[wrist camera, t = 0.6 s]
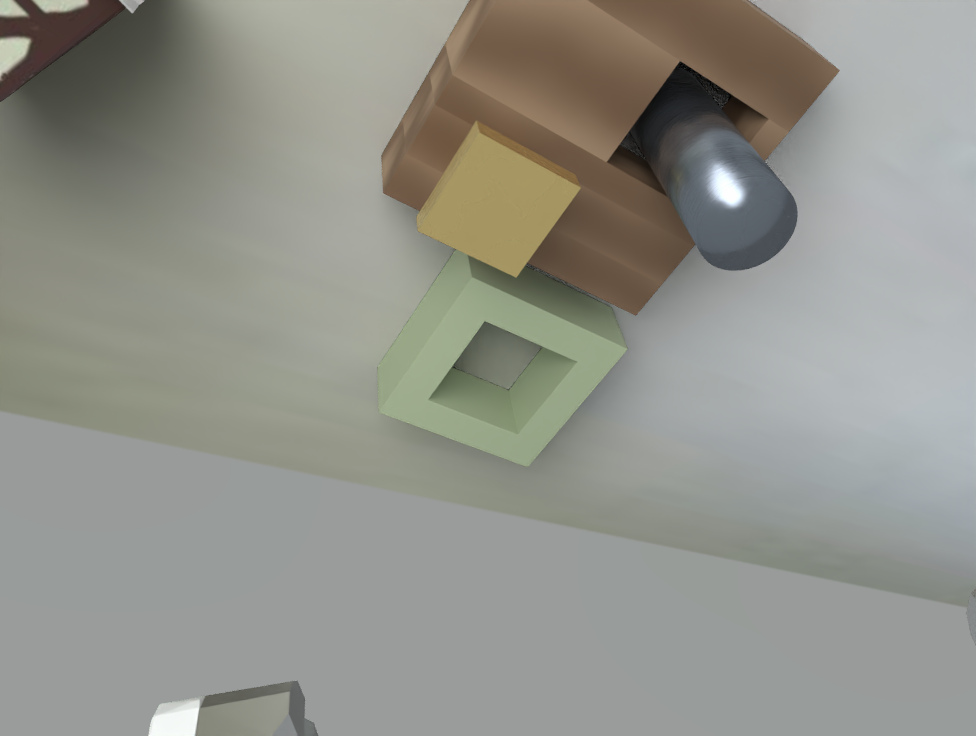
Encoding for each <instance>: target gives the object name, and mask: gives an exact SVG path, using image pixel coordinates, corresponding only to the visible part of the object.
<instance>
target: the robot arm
mask: <svg viewBox="0 0 976 736" xmlns="http://www.w3.org/2000/svg"><path fill="white" fill-rule="evenodd" d="M967 618H968V623H969V628H970V632H971V636H972V638H973V640H974V642H975V645H976V589H975V590H974V591H973V592H972V593H971V595H970V599H969V604H968V608H967ZM304 716H305V698H304V695H303V693H302V691H301V688H300V686H299V683H298V681H292V682H285V683H280V684H274V685H268V686H262V687H256V688H250V689H244V690H238V691H232V692H226V693H220V694H214V695H208V696H202V697H197V698H192V699H186V700H181V701H175V702H170V703H165V704H160V705H159V707H158V709H157V711H156V712H155V714H154V716H153V718H152V720H151V725H150V730H149V735H148V736H318V733H317V731H316V728H315V725H314V723H313V722H311V721H309V720H307V719H305V718H304Z"/></svg>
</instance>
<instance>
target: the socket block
mask: <svg viewBox="0 0 976 736" xmlns="http://www.w3.org/2000/svg"><path fill="white" fill-rule="evenodd" d="M680 61H681V62H683V63H684V64H686V65H687V66H689V67H690V68H692V69H693V70H695V71H696V72H698V73H699V74H701V75H702V76H704V77H706V78H707V79H709V80H710V81H712V82H713V83H715V84H716V85H718V86H719V87H721V88H722V89H724V90H725V91H727V92H728V93H730V94H731V95H732V96H731V98H730V99H729V100H728V102H727V103H726V104H725V105H724V107H723V108H722V110H723V111H724V113H725V114H726V115H727V116H728V118H729V119H730V120H731V121H732V122H733V124H734V125H735V126H736V127H737V128H738V130H739V131H740V132H741V133H742V135H743V136H744V137H745V138H746V139H747V141H748V142H749V143H750V144H751V146H752V147H753V148H754V149H755V150H756V152H757V153H758V154H759V155H760V157H761V158H762V159H763V160H764V161H765V160H766V159H767V157H768V156H769V155H770V154H771V153H772V151H773V150H774V149H775V148H776V147H777V145H778V144H779V143H780V142H781V141H782V139H783V138H784V137H785V136H786V135H787V133H788V132H789V131H790V130H791V129H792V127H793V126H794V125H795V124H796V123H797V121H798V120H799V119H800V118H801V117H802V115H803V114H804V113H805V112H806V111H807V109H808V108H809V107H810V106H811V105H812V103H813V102H814V101H815V100H816V99H817V97H818V96H819V95H820V94H821V93H822V91H823V90H824V89H825V88H826V87H827V85H828V84H829V83H830V82H831V81H832V79H833V78H834V77H835V76H836V75H837V73H838V72H839V71H840V70H839V69H837V68H836V67H835V66H834V65H833V64H831V63H830V62H829V61H828V60H827V59H825V58H824V57H823V56H822V55H821V54H819V53H818V52H817V51H816V50H815V49H814V48H812V47H811V46H810V45H809V44H808V43H806V42H805V41H804V40H803V39H801V38H800V37H798V36H797V35H796V34H794V33H793V32H791V31H790V30H789V29H787V28H786V27H785V26H783V25H782V24H780V23H779V22H778V21H776V20H775V19H774V18H772V17H771V16H769V15H768V14H767V13H765V12H764V11H762V10H761V9H760V8H758V7H757V6H756V5H754V4H753V3H751V2H750V1H749V0H470V1H469V3H468V4H467V6H466V8H465V10H464V11H463V13H462V15H461V17H460V18H459V20H458V22H457V24H456V25H455V27H454V29H453V31H452V32H451V34H450V36H449V38H448V39H447V41H446V43H445V45H444V46H443V48H442V50H441V52H440V53H439V55H438V57H437V59H436V60H435V62H434V64H433V66H432V68H431V69H430V71H429V73H428V75H427V76H426V78H425V80H424V82H423V83H422V85H421V87H420V89H419V90H418V92H417V94H416V96H415V97H414V99H413V101H412V103H411V104H410V106H409V108H408V110H407V111H406V113H405V115H404V117H403V118H402V120H401V122H400V124H399V125H398V127H397V129H396V131H395V132H394V134H393V136H392V138H391V139H390V141H389V143H388V145H387V146H386V148H385V150H384V152H383V154H382V155H381V157H382V177H383V193H384V194H386V195H388V196H390V197H392V198H394V199H396V200H398V201H400V202H402V203H405V204H407V205H409V206H411V207H413V208H415V209H417V210H419V211H420V210H421V209H422V207H423V206H424V204H425V202H426V201H427V199H428V198H429V196H430V194H431V193H432V191H433V189H434V188H435V186H436V185H437V183H438V181H439V180H440V178H441V177H442V175H443V173H444V172H445V170H446V169H447V167H448V165H449V164H450V162H451V160H452V159H453V157H454V156H455V154H456V152H457V151H458V149H459V148H460V146H461V144H462V143H463V141H464V139H465V138H466V136H467V135H468V133H469V131H470V130H471V128H472V127H473V125H474V123H475V122H476V120H477V121H478V122H480V123H482V124H484V125H486V126H487V127H489V128H491V129H493V130H495V131H497V132H498V133H500V134H502V135H504V136H506V137H508V138H509V139H511V140H513V141H515V142H517V143H518V144H520V145H522V146H524V147H526V148H528V149H529V150H531V151H533V152H535V153H537V154H538V155H540V156H542V157H544V158H546V159H548V160H549V161H551V162H553V163H555V164H557V165H559V166H560V167H562V168H564V169H566V170H568V171H569V172H571V173H573V174H575V175H576V177H577V179H578V182H579V184H580V187H581V189H580V190H579V191H578V193H577V194H576V196H575V197H574V198H573V200H572V201H571V202H570V204H569V205H568V207H567V208H566V209H565V211H564V212H563V214H562V215H561V216H560V218H559V219H558V220H557V222H556V223H555V225H554V226H553V227H552V229H551V230H550V232H549V233H548V234H547V236H546V237H545V239H544V240H543V241H542V243H541V244H540V245H539V247H538V248H537V250H536V251H535V252H534V254H533V255H532V257H531V258H530V259H529V261H528V262H527V263H528V264H531V265H533V266H535V267H537V268H539V269H541V270H543V271H545V272H547V273H549V274H551V275H553V276H555V277H557V278H559V279H562V280H564V281H566V282H568V283H570V284H572V285H574V286H576V287H578V288H580V289H582V290H584V291H586V292H588V293H590V294H593V295H595V296H597V297H599V298H601V299H603V300H605V301H607V302H609V303H611V304H613V305H615V306H617V307H619V308H621V309H624V310H626V311H628V312H630V313H632V314H634V315H637V314H638V312H639V311H640V310H641V309H642V308H643V306H644V305H645V304H646V303H647V302H648V300H649V299H650V298H651V297H652V296H653V294H654V293H655V292H656V291H657V290H658V288H659V287H660V286H661V285H662V284H663V282H664V281H665V280H666V279H667V278H668V276H669V275H670V274H671V273H672V272H673V270H674V269H675V268H676V267H677V266H678V264H679V263H680V262H681V261H682V260H683V258H684V257H685V256H686V255H687V254H688V252H689V251H690V250H691V249H692V248H693V246H694V245H695V242H694V241H693V239H692V237H691V236H690V234H689V232H688V230H687V229H686V227H685V225H684V224H683V222H682V220H681V218H680V217H679V215H678V213H677V212H676V210H675V208H674V206H673V205H672V203H671V201H670V200H669V198H668V196H667V194H666V193H665V191H664V189H663V188H662V186H661V184H660V182H659V181H658V179H657V177H656V176H655V174H654V172H653V170H652V169H651V167H650V165H649V164H648V162H647V160H645V159H643V158H641V157H640V156H638V155H636V154H635V153H633V152H631V151H629V150H628V149H626V148H624V147H622V146H621V145H619V144H620V143H621V142H622V140H623V139H624V137H625V136H626V135H627V133H628V132H629V131H630V129H631V128H632V126H633V125H634V124H635V122H636V121H637V120H638V118H639V117H640V115H641V114H642V113H643V111H644V110H645V109H646V107H647V106H648V104H649V103H650V102H651V100H652V99H653V98H654V96H655V95H656V93H657V92H658V91H659V89H660V88H661V86H662V85H663V84H664V82H665V81H666V80H667V78H668V77H669V75H670V74H671V73H672V71H673V70H674V69H675V67H676V66H677V64H678V63H679V62H680Z"/></svg>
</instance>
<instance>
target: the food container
mask: <svg viewBox="0 0 976 736" xmlns="http://www.w3.org/2000/svg"><path fill="white" fill-rule="evenodd" d="M144 1H145V0H0V102H1V101H3V100H4V99H5V98H7V97H8V96H10V95H11V94H12V93H14V92H15V91H16V90H17V89H19V88H20V87H21V86H23V85H24V84H25V83H26V82H28V81H29V80H30V79H32V78H33V77H34V76H36V75H37V74H38V73H39V72H41V71H42V70H43V69H45V68H46V67H48V66H49V65H50V64H52V63H53V62H54V61H56V60H57V59H58V58H60V57H61V56H63V55H64V54H65V53H67V52H68V51H69V50H71V49H72V48H73V47H75V46H76V45H77V44H79V43H80V42H81V41H83V40H84V39H85V38H87V37H88V36H90V35H91V34H92V33H94V32H95V31H96V30H98V29H99V28H100V27H102V26H103V25H104V24H106V23H107V22H108V21H109V20H111V19H112V18H113V17H115V16H116V15H117V14H119V13H120V12H121V11H122V10H124V9H125V8H127V9H128V10H129V11H130V12H131V13H133V12H134V11H135V10H136V8H137V7H138V6H139V5H140V4H141V3H143V2H144Z"/></svg>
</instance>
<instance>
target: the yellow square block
mask: <svg viewBox="0 0 976 736" xmlns="http://www.w3.org/2000/svg"><path fill="white" fill-rule="evenodd" d="M580 189H581V187H580V184H579V182H578V179H577V177H576V175H575V174H573V173H571V172H569V171H568V170H566V169H564V168H562V167H560V166H559V165H557V164H555V163H553V162H551V161H549V160H548V159H546V158H544V157H542V156H540V155H538V154H537V153H535V152H533V151H531V150H529V149H528V148H526V147H524V146H522V145H520V144H518V143H517V142H515V141H513V140H511V139H509V138H508V137H506V136H504V135H502V134H500V133H498V132H497V131H495V130H493V129H491V128H489V127H487V126H486V125H484V124H482V123H480V122H478V121H477V120H476V122H475V123H474V125H473V127H472V128H471V130H470V131H469V133H468V135H467V136H466V138H465V139H464V141H463V143H462V144H461V146H460V148H459V149H458V151H457V152H456V154H455V156H454V157H453V159H452V160H451V162H450V164H449V165H448V167H447V169H446V170H445V172H444V173H443V175H442V177H441V178H440V180H439V181H438V183H437V185H436V186H435V188H434V189H433V191H432V193H431V194H430V196H429V198H428V199H427V201H426V202H425V204H424V206H423V207H422V209H421V210H420V212H419V214H418V215H417V217H416V219H417V228H418V231H419V232H421V233H423V234H425V235H427V236H429V237H431V238H433V239H435V240H438V241H440V242H442V243H444V244H446V245H448V246H450V247H452V248H455V249H457V250H459V251H461V252H463V253H465V254H467V255H469V256H471V257H474V258H476V259H478V260H480V261H482V262H484V263H486V264H488V265H490V266H493V267H495V268H497V269H499V270H501V271H503V272H505V273H507V274H510V275H512V276H514V277H517V276H518V275H519V273H520V272H521V270H522V269H523V268H524V266H525V265H526V263H527V262H528V261H529V259H530V258H531V257H532V255H533V254H534V252H535V251H536V250H537V248H538V247H539V245H540V244H541V243H542V241H543V240H544V239H545V237H546V236H547V234H548V233H549V232H550V230H551V229H552V227H553V226H554V225H555V223H556V222H557V220H558V219H559V218H560V216H561V215H562V214H563V212H564V211H565V209H566V208H567V207H568V205H569V204H570V202H571V201H572V200H573V198H574V197H575V196H576V194H577V193H578V191H579V190H580Z"/></svg>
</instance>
